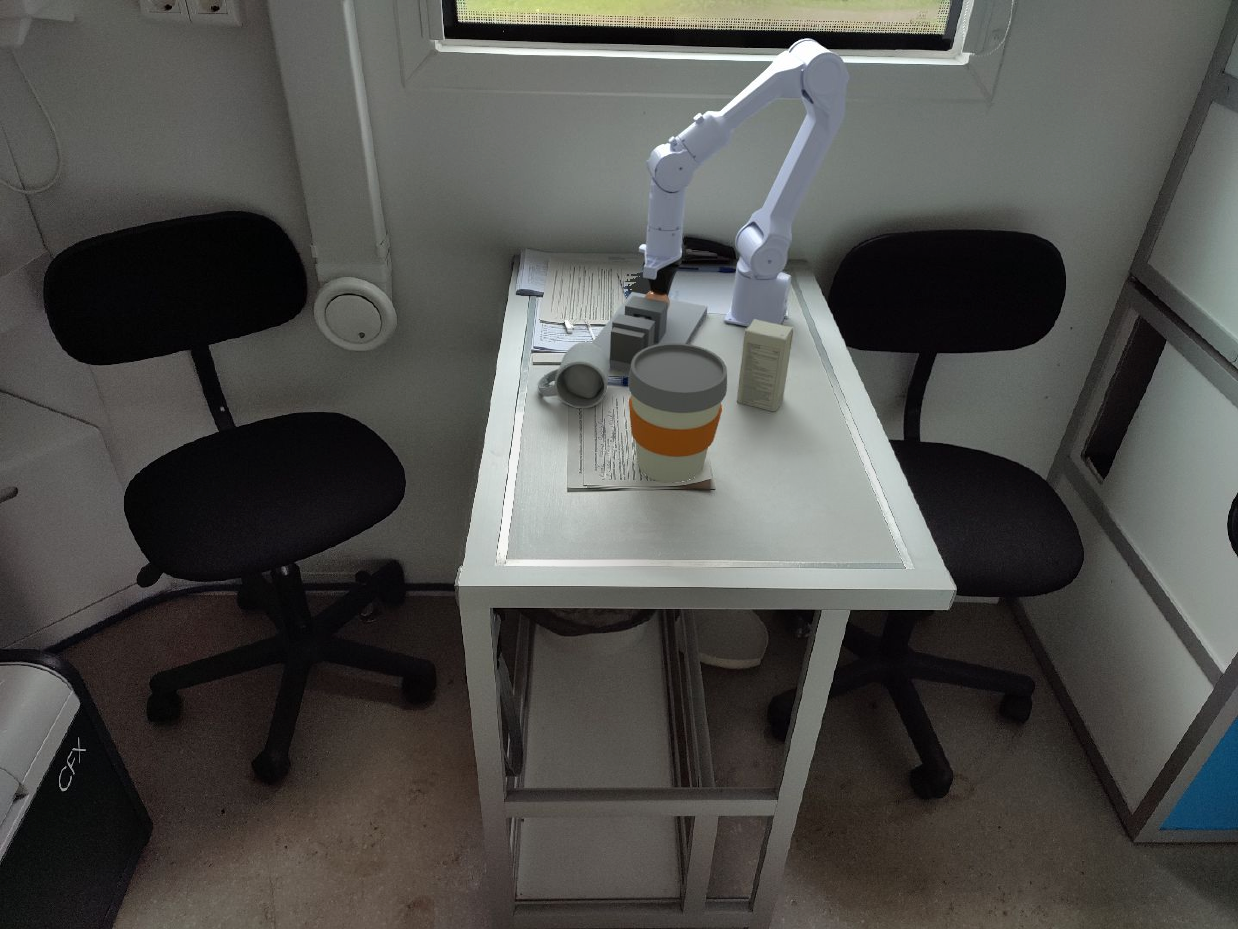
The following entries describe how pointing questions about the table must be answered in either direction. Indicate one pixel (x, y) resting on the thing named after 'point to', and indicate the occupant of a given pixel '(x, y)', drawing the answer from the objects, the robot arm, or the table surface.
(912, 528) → the table surface
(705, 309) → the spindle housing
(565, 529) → the table surface
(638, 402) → the reusable coffee cup
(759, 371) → the skincare box
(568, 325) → the picture light
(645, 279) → the cell phone
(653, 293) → the copper and silver rod
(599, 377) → the ceramic mug
